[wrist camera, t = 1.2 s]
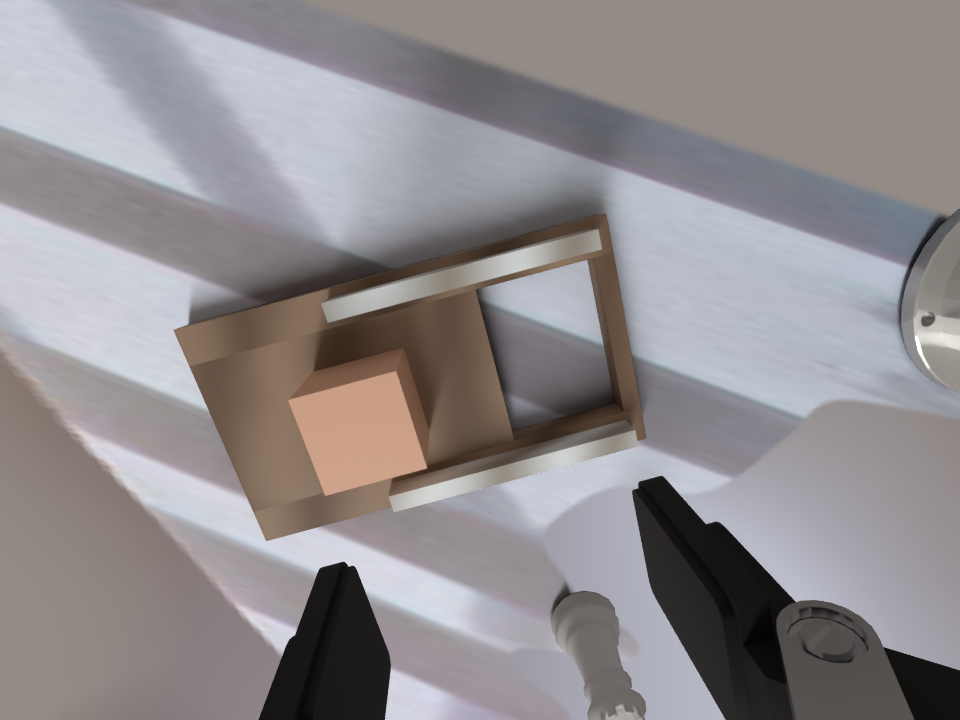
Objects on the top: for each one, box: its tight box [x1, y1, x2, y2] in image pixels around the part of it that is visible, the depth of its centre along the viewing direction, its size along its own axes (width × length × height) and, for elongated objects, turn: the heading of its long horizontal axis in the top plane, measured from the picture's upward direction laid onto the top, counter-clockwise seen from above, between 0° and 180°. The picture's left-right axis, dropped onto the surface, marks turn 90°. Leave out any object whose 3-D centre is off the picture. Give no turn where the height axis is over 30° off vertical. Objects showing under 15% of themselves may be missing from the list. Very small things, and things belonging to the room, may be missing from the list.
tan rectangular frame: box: [174, 214, 646, 541], centre depth 27 cm, size 23×13×3 cm, turn 105°
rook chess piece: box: [551, 591, 646, 720], centre depth 30 cm, size 4×4×8 cm
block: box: [288, 348, 429, 496], centre depth 25 cm, size 5×5×4 cm
